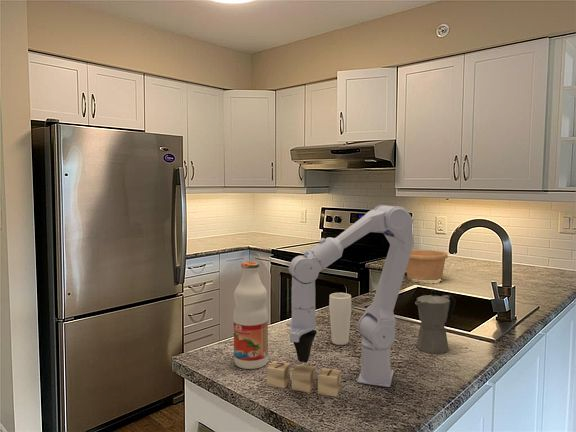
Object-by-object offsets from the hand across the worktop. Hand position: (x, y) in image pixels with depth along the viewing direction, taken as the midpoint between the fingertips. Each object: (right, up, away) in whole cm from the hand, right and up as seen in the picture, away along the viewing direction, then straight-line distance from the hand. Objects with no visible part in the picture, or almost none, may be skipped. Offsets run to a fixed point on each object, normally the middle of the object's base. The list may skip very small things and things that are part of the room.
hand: (303, 361), depth 105 cm
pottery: (+66, +2, +117) cm, 134 cm away
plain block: (0, -7, 0) cm, 6 cm away
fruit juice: (-14, -6, +15) cm, 21 cm away
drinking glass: (+12, -4, +30) cm, 33 cm away
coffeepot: (+41, -5, +25) cm, 48 cm away
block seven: (-6, -6, +3) cm, 9 cm away
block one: (+6, -7, -2) cm, 9 cm away
